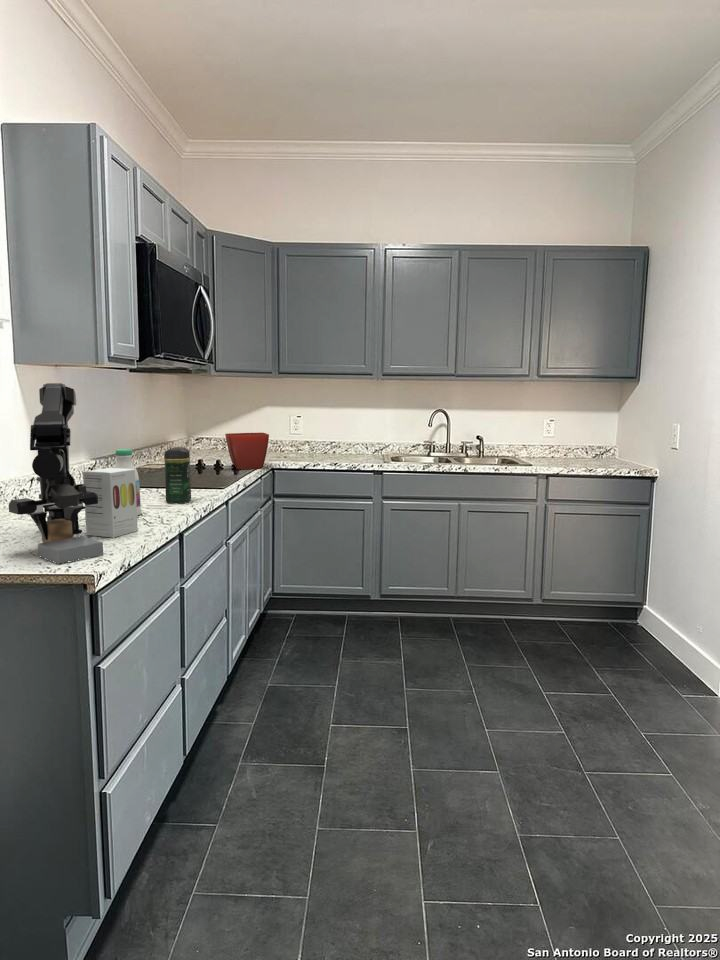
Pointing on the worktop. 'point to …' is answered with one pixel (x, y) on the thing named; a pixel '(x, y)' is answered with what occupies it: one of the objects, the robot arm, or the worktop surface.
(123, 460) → the milk bottle
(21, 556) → the worktop surface
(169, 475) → the coffee jar
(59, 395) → the robot arm
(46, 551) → the slate slab
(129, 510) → the supplement box
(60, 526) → the walnut cube
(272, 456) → the worktop surface
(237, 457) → the plant pot
